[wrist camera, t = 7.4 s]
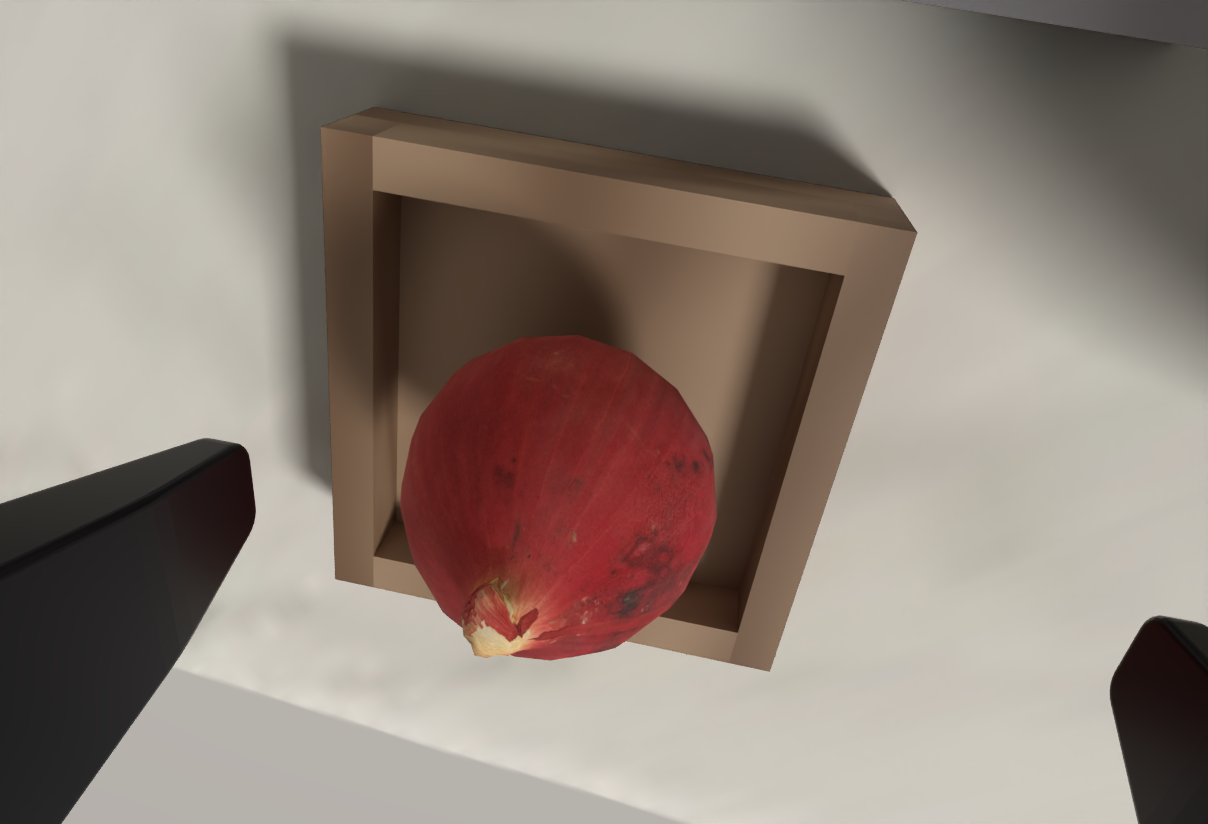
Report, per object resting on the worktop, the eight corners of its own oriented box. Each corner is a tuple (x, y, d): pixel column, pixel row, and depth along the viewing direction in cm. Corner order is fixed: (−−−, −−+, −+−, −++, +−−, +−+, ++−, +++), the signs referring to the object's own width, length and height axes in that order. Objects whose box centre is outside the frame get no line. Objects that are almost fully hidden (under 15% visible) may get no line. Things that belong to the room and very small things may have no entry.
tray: (894, 198, 17) (917, 232, 14) (766, 602, 22) (769, 671, 20) (373, 107, 17) (320, 127, 15) (374, 520, 23) (335, 578, 20)
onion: (761, 339, 17) (770, 569, 10) (670, 544, 20) (627, 838, 13) (504, 246, 17) (335, 413, 10) (448, 464, 20) (283, 715, 13)
